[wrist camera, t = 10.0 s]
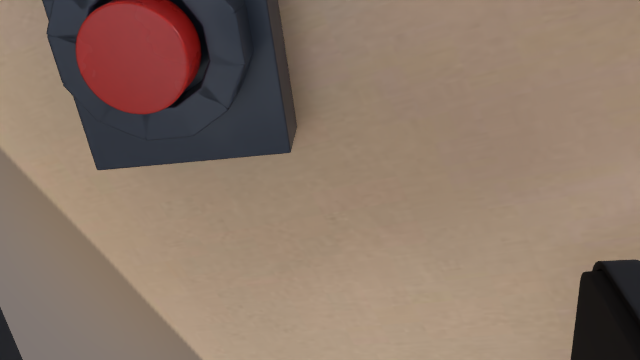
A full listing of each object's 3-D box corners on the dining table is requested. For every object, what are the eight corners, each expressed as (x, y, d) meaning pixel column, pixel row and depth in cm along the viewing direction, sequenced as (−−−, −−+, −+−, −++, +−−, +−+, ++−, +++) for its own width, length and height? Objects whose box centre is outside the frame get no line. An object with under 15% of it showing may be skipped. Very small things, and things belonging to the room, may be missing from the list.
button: (211, 92, 21) (199, 109, 19) (113, 102, 21) (93, 120, 19) (188, -15, 19) (173, -6, 17) (82, -2, 19) (58, 8, 18)
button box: (297, 127, 25) (286, 173, 21) (120, 144, 26) (77, 191, 22) (258, -133, 21) (234, -137, 17) (47, -102, 22) (-23, -99, 18)
